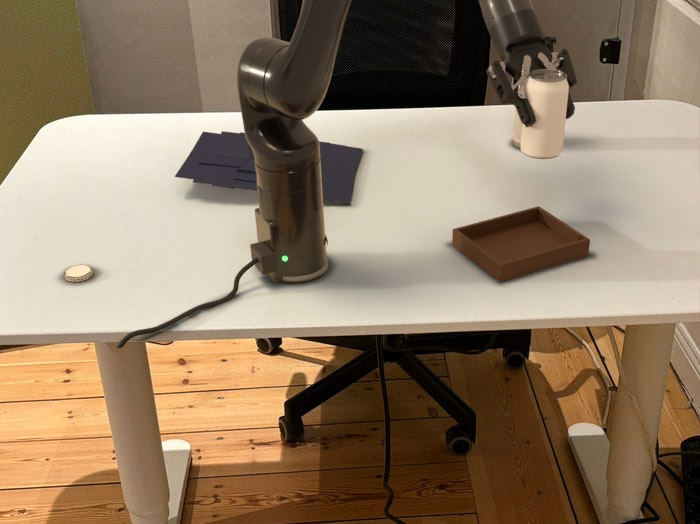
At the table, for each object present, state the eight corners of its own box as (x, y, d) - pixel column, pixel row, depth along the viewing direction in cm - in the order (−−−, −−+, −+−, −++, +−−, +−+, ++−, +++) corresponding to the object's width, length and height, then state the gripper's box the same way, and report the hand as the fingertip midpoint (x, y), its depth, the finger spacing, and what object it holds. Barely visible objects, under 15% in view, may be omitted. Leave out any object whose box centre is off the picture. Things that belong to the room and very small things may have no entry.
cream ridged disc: (82, 265, 140) (81, 261, 140) (98, 273, 138) (97, 269, 138) (59, 275, 138) (58, 272, 138) (75, 284, 136) (74, 280, 135)
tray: (499, 282, 135) (500, 265, 134) (452, 245, 145) (452, 229, 143) (588, 255, 141) (590, 239, 140) (537, 221, 151) (538, 205, 149)
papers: (205, 141, 177) (205, 123, 175) (362, 161, 177) (363, 143, 175) (172, 196, 157) (171, 176, 155) (348, 218, 158) (350, 199, 155)
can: (513, 146, 146) (519, 70, 139) (551, 141, 148) (558, 66, 141) (530, 162, 141) (537, 83, 134) (569, 157, 143) (577, 79, 136)
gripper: (482, 13, 136) (522, 117, 134) (561, 1, 141) (602, 100, 140) (461, 41, 143) (500, 140, 141) (538, 28, 148) (576, 123, 146)
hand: (550, 120), depth 140 cm, fingers closed on can, 6 cm apart
